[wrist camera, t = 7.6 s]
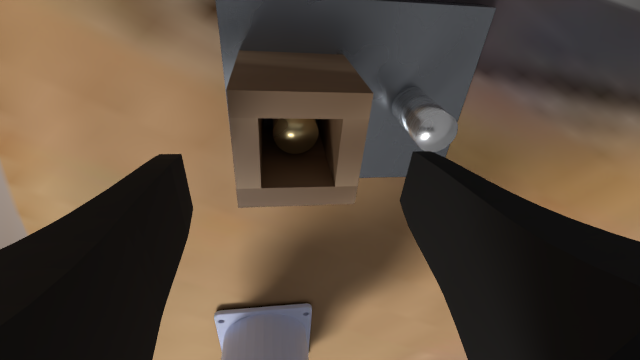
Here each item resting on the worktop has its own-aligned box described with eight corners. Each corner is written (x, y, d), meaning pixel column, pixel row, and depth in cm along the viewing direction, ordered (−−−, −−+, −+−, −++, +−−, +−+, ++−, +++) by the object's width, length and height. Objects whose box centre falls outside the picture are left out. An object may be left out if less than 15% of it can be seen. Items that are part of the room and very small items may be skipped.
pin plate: (430, 165, 20) (466, 211, 16) (237, 168, 18) (229, 221, 15) (481, 4, 15) (550, 19, 11) (218, -12, 13) (199, -1, 9)
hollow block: (333, 144, 17) (354, 203, 13) (246, 144, 16) (238, 207, 12) (343, 54, 14) (373, 93, 10) (238, 50, 13) (226, 90, 9)
